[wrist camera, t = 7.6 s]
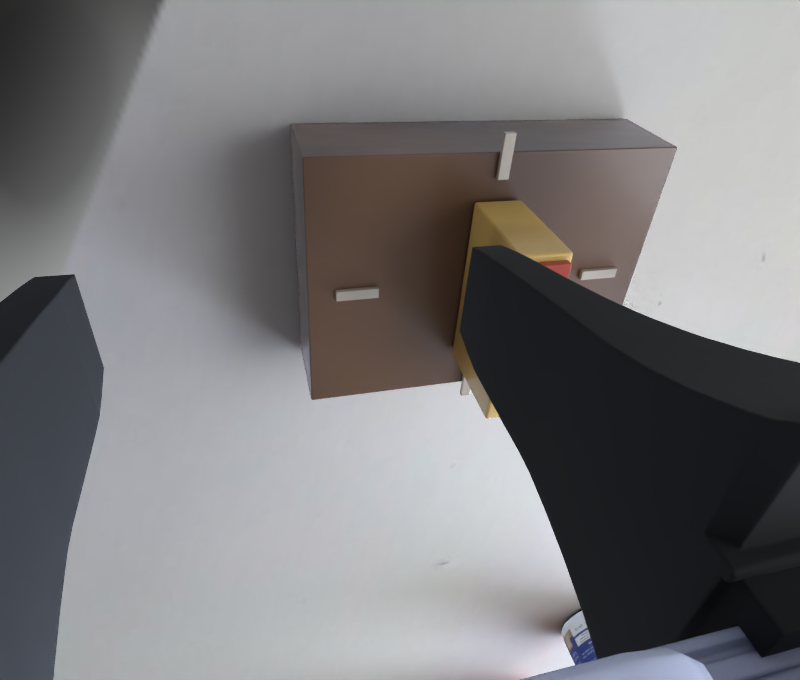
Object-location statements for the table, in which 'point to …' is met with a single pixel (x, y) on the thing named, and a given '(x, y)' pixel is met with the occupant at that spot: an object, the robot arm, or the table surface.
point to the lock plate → (448, 230)
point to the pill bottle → (578, 639)
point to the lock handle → (521, 234)
